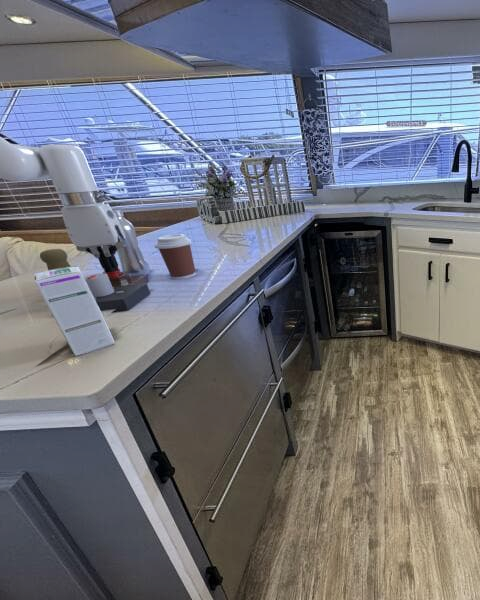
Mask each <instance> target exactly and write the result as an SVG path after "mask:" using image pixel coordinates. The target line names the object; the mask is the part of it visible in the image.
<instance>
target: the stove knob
mask: <svg viewBox="0 0 480 600" xmlns="http://www.w3.org/2000/svg"><path fill="white" fill-rule="evenodd" d="M83 277H84V279H85V281H86V283H87V285H88V287H89V288H90V290H91V292H92V294H93V296H94V297H102V296H106V295H109V294H112V293H113V292H114V289H113V287H112V285H111V282H110V280H109V277H108V275H107V274H106V273H103V272H102V273H95V274H89V275H87V276H83Z"/></svg>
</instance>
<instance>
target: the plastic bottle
mask: <svg viewBox="0 0 480 600" xmlns="http://www.w3.org/2000/svg"><path fill="white" fill-rule="evenodd" d="M112 210H113V212H114V214H115V215H116V217H117V219H118V221H119V223H120V225H121V227H122V229H123V231H124V233H125V236H126V239H125V240H124V242H125V243H126V246H125V247H122V248H119V249H118V250H117V251H116V253H117V256H118V259H119V262H120V270H121V272H128V273H129V276H136V275H149V274H150V272H151V269H150V268H151V267H150V265H149V263H148V261H147V260H146V259H145V256H144V255H143V252H142V251H141V249H140V245H139V242H138V239H137V233H136V229H135V226H134V225H133V223H131V222H130V221H129V220H127V219H126V218H125V214H124V213H123V210H122V208H116V209H115V208H114V209H112ZM115 244H116V243H115ZM115 244H114V245H115Z"/></svg>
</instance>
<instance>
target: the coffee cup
mask: <svg viewBox="0 0 480 600" xmlns="http://www.w3.org/2000/svg"><path fill="white" fill-rule="evenodd" d="M156 240H157V241H156V243H155V244H154V248H155V249H157V250H158V251H159V253H160V255H161V257H162V259H163V262H164V264H165V266H166V268H167V271H168V273H169V275H170V278H171V279H173V280H183V279H187V278H191V277H194V276H195V275H197V271H196V267H195V266H196V265H195V262H194V257H193V253H192V248H191V244H193V242H192V239H189V238H188V237H187V235H186V234H183V233H177V234H176V233H175V234H168V235H162V236H160V237H157V239H156Z"/></svg>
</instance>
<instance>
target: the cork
mask: <svg viewBox="0 0 480 600" xmlns="http://www.w3.org/2000/svg"><path fill="white" fill-rule="evenodd" d="M39 258H40V260H41V261H42V262H43V263H45V264H46V267H47V271H49V270H53V269H58V268H65V267H72V266H71V264H70V263H69V262H68V254H67V252H66V250H64V249H61V248H52V249H51V248H50V249H46V250H43V251H41V252H40V253H39Z"/></svg>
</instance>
